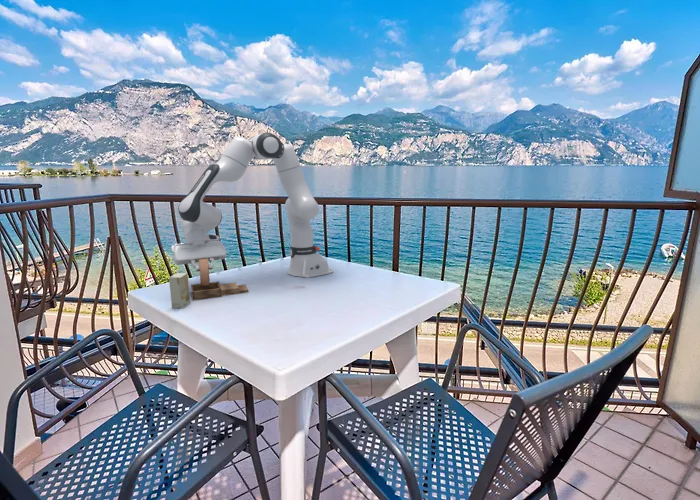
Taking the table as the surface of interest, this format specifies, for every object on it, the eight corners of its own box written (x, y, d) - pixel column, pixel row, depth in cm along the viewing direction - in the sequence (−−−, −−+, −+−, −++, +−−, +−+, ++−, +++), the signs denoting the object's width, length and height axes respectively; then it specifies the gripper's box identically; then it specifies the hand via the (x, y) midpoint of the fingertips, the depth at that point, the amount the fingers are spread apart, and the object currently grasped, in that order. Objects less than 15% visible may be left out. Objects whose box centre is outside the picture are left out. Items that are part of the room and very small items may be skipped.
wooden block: (209, 282, 148) (207, 258, 146) (210, 284, 145) (208, 260, 142) (200, 283, 146) (198, 258, 144) (200, 285, 143) (198, 260, 141)
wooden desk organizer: (245, 286, 158) (244, 278, 157) (249, 293, 149) (248, 285, 148) (191, 292, 149) (191, 284, 148) (192, 300, 140) (191, 292, 139)
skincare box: (182, 308, 132) (179, 277, 129) (171, 308, 132) (168, 277, 129) (190, 302, 138) (188, 272, 135) (179, 302, 138) (176, 272, 135)
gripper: (170, 240, 141) (177, 269, 135) (222, 235, 153) (230, 262, 147) (169, 248, 146) (176, 277, 140) (220, 243, 157) (228, 270, 152)
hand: (204, 269), depth 144 cm, fingers closed on wooden block, 4 cm apart
